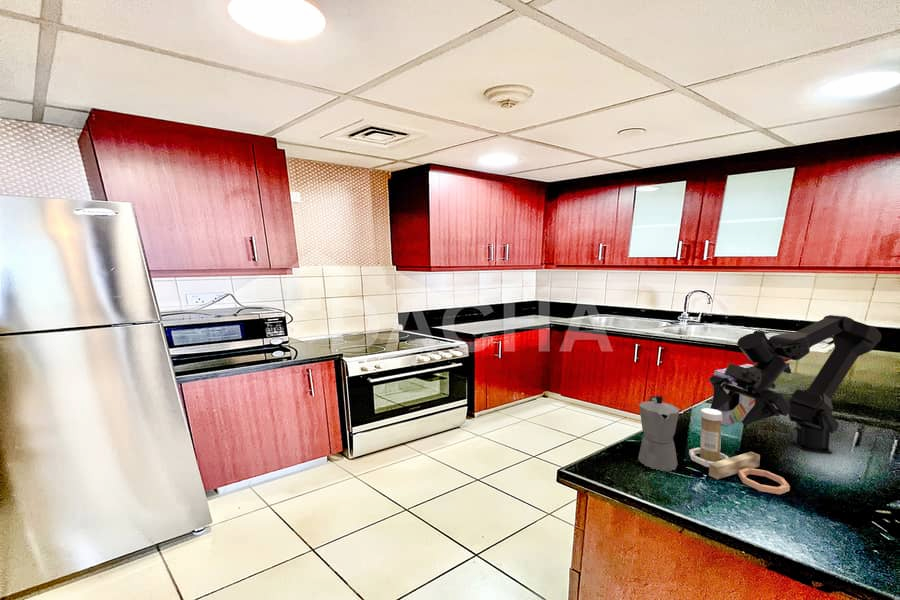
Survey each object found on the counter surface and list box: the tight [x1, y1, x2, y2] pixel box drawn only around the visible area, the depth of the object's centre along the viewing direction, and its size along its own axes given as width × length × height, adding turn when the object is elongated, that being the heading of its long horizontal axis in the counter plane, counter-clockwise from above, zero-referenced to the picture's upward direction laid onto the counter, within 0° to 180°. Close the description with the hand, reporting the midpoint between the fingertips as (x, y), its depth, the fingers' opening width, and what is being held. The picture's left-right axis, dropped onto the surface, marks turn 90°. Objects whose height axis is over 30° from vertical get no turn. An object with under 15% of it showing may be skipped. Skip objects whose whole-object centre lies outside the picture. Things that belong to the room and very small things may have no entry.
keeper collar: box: [737, 468, 791, 495], centre depth 89 cm, size 9×9×1 cm
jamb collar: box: [688, 447, 730, 468], centre depth 99 cm, size 9×9×1 cm
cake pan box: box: [712, 363, 755, 426], centre depth 125 cm, size 19×5×18 cm, turn 114°
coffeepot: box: [637, 395, 681, 472], centre depth 99 cm, size 15×9×18 cm, turn 162°
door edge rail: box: [708, 451, 761, 480], centre depth 94 cm, size 16×2×3 cm, turn 111°
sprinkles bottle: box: [699, 407, 722, 462], centre depth 99 cm, size 5×5×13 cm
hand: (726, 416), depth 99 cm, fingers open, 9 cm apart
